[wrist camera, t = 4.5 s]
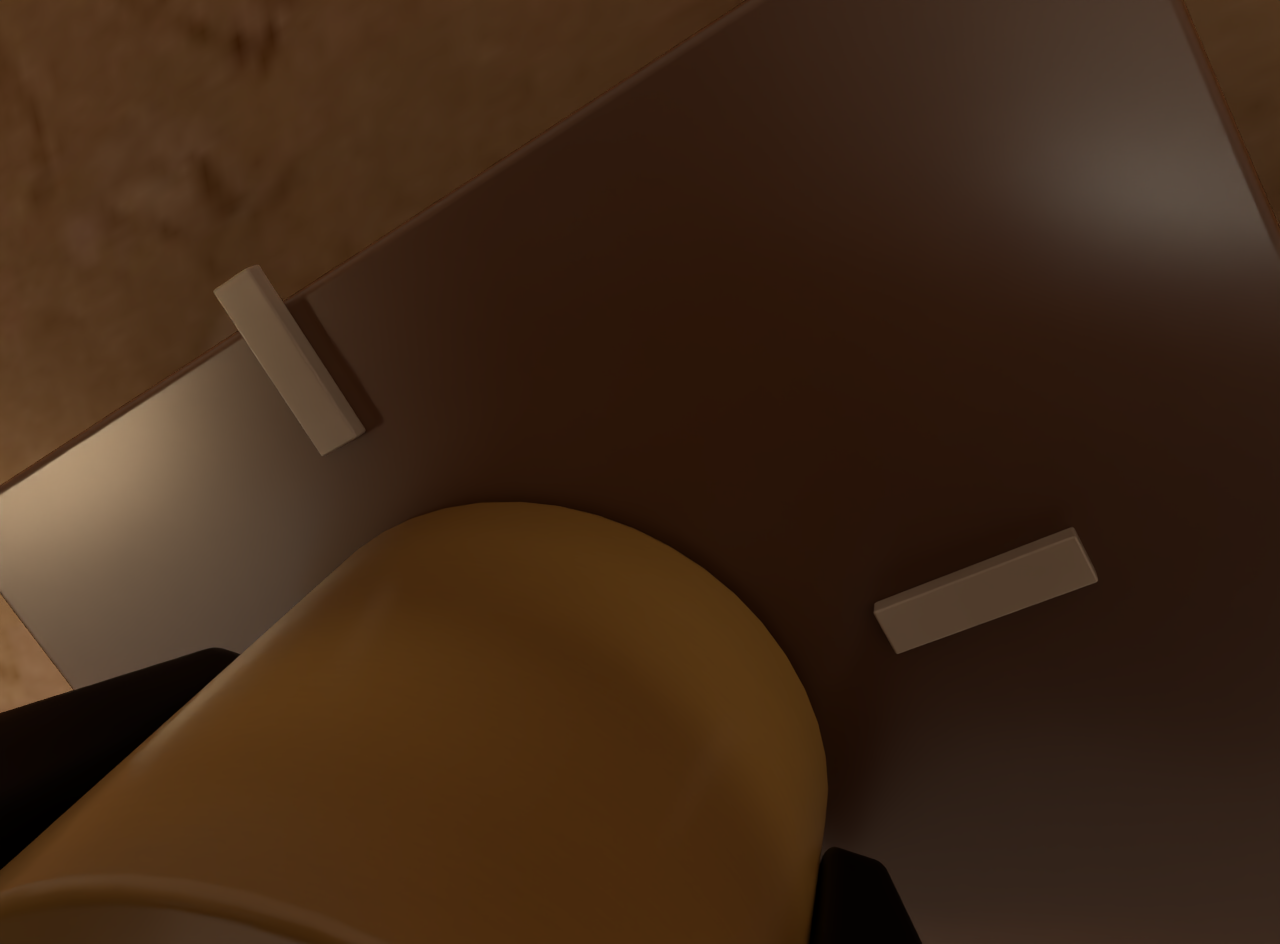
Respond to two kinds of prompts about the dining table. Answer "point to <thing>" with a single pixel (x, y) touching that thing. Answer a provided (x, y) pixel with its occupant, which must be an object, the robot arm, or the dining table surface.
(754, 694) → the knob
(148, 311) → the dining table surface
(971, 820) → the panel
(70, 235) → the dining table surface
